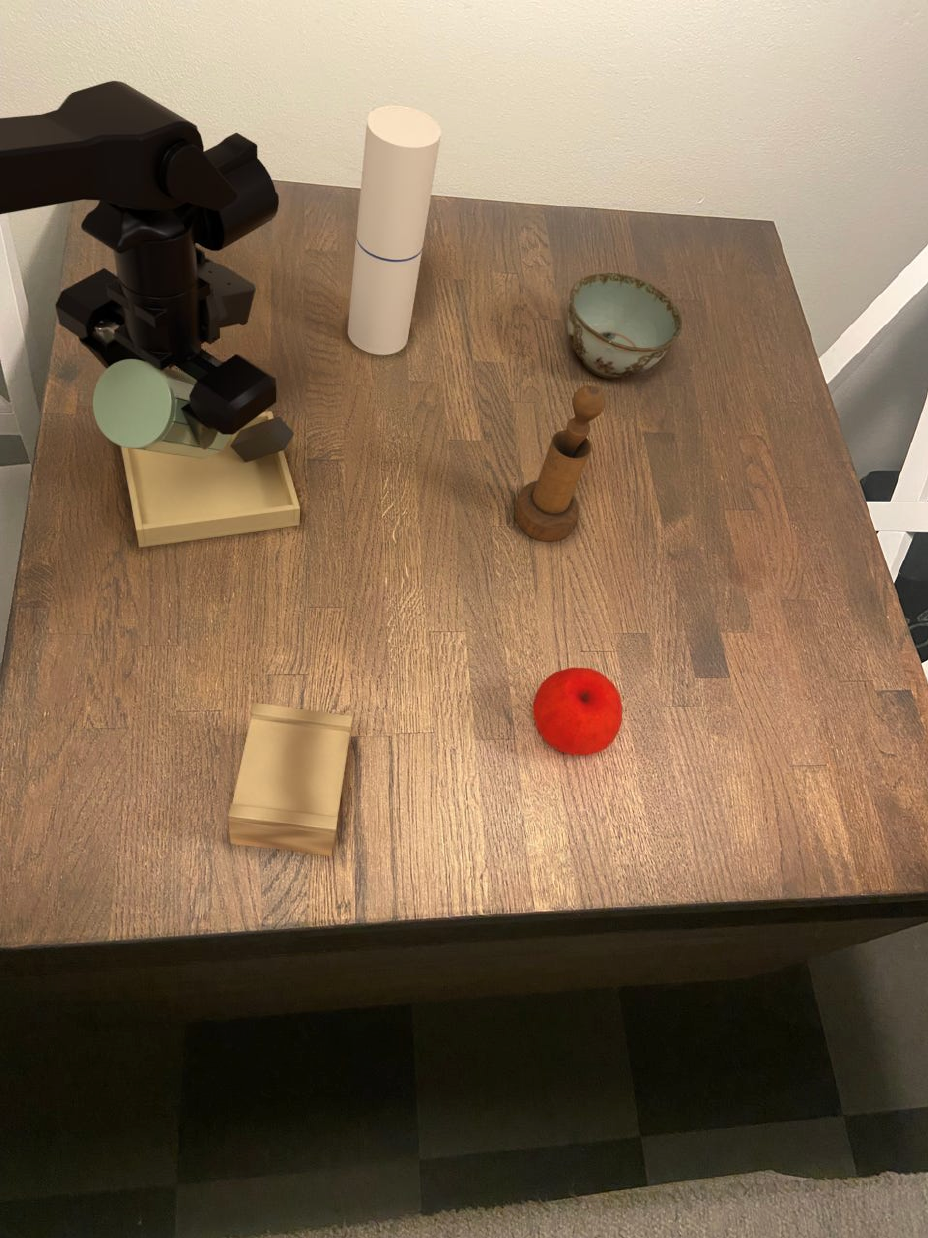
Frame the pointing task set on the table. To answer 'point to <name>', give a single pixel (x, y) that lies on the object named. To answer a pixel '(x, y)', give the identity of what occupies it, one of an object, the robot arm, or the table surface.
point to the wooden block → (290, 780)
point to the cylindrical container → (391, 225)
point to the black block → (262, 439)
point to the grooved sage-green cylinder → (148, 409)
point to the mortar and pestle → (560, 474)
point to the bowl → (620, 324)
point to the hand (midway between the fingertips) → (175, 424)
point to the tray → (208, 494)
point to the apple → (578, 711)
